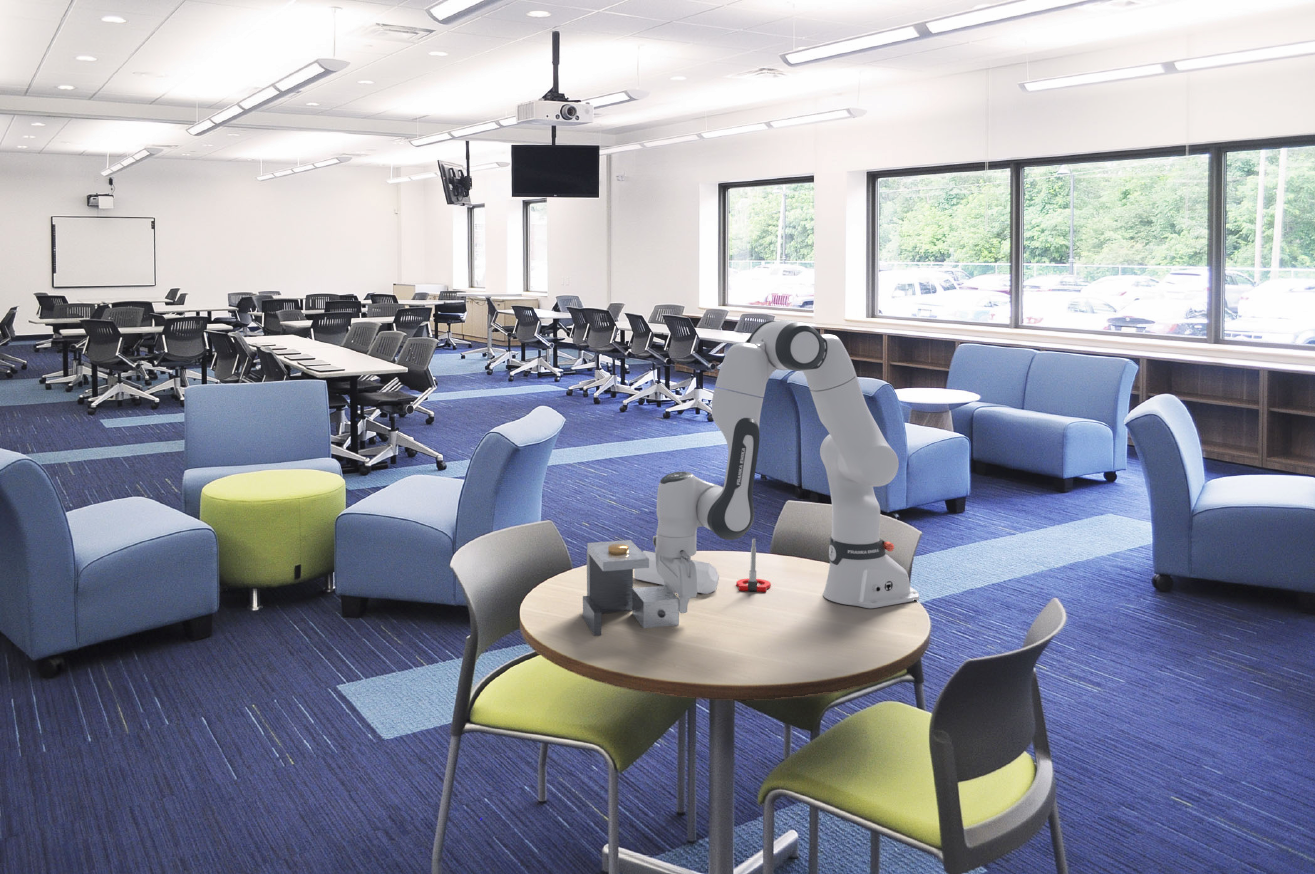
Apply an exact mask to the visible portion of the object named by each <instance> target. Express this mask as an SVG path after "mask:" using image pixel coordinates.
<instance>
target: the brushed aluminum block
mask: <svg viewBox="0 0 1315 874" xmlns="http://www.w3.org/2000/svg"><path fill="white" fill-rule="evenodd" d="M631 614H632V615H633V616H634V618H635V619H636V621H637V622H638V623H639V624H640V625H641V627H642V628H643V629H647V628H648V629H649V628H660V627H669V626H670V627H671V626H679V625H680V612H679V596H677V594H676V593H675V594H674V593H673V592H672V591H671V590H670V589H669V588H668V587H667V586H664V585H658V586H654V585H653V586H643V587H642V586H641V587H633V588H632V613H631Z"/></svg>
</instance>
